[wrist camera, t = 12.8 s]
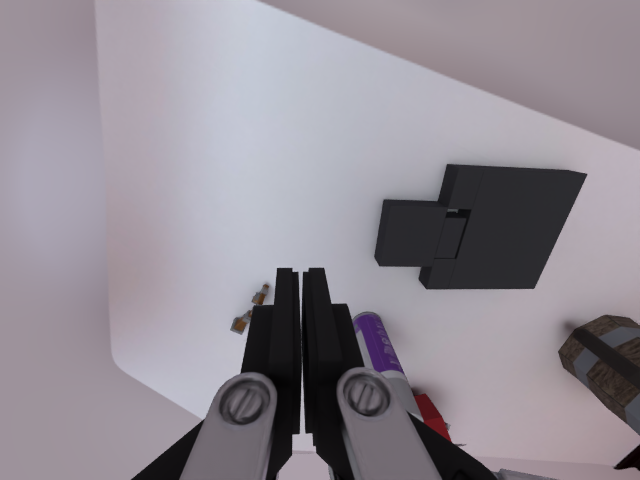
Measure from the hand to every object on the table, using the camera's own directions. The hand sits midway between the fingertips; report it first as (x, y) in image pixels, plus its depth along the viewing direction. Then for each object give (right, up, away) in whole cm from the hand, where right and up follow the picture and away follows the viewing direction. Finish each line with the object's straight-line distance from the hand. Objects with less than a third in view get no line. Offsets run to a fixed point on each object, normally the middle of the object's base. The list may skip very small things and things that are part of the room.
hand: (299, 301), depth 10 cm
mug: (+47, -15, +37) cm, 62 cm away
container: (+8, -10, +31) cm, 34 cm away
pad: (+13, +4, +25) cm, 29 cm away
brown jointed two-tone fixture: (-9, -7, +28) cm, 30 cm away
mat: (+23, +4, +26) cm, 35 cm away
